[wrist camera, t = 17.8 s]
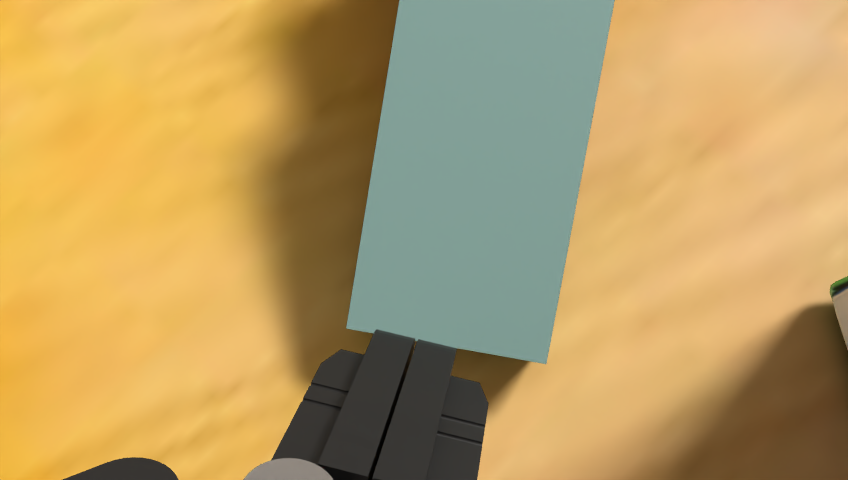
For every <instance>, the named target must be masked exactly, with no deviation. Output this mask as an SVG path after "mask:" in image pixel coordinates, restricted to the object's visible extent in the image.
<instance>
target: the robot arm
mask: <svg viewBox="0 0 848 480" xmlns="http://www.w3.org/2000/svg"><path fill="white" fill-rule="evenodd" d="M414 345H415V338H411V337H407V336H403V335H399V334H394V333H390V332H386V331H382V330H378V329H376V330H375V332H374V334H373V337H372V339H371V341H370V344H369V346H368V348H367V351H366V353H365V355H362V354H358V353H354V352H350V351H346V350H342V349H341V350H339V351H338V352H337V353H335V354H334V355H332V356H331V357H329V358H328V359H327V360H325V361H324V362H322V363H321V365H320V367H319V369H318V370H317V372H316V374H315V376H314V378H313V380H312V382H311V386H309V388H308V390H307V392H306V394H305V396H304V398H303V401H302V402H301V404H300V405H299V407H298V409H297V411H296V413H295V415H294V417H293V419H292V421H291V423H290V425H289V427H288V429H287V431H286V433H285V435H284V437H283V439H282V440H281V442H280V444H279V446H278V448H277V450H276V452H275V454H274V456H273V458H272V460H271V461H268V462H265V463H263V464H261V465H259V466H257V467H256V468H254V469H253V470H252V471H251V472H250V473H248V475H247V476H246V477H245V478H244V480H477V476H478V470H479V463H480V456H481V450H482V443H483V436H484V430H485V429H484V428H485V423H486V416H487V410H488V402H487V399H486V397H485V395H484V392H483V390H482V387H481V385H480V383H479V382H474V381H470V380H466V379H462V378H458V377H454V376H451V373H452V368H453V364H454V360H455V355H456V350H457V348H454V347H449V346H445V345H441V344H437V343H433V342H429V341H424V340H420V339H418V341H417V343H416V347H415V350H414ZM413 351H414V353H413ZM63 480H178V478H177V476H176V474H175V473H174V472H173V471H172V470H171V469H170V468H169V467H167V466H166V465H164V464H162V463H160V462H158V461H155V460H152V459H146V458H123V459H118V460H114V461H110V462H107V463H105V464H102V465H99V466H97V467H94V468H92V469H89V470H86V471H84V472H81V473H79V474H76V475H73V476H71V477H68V478H66V479H63Z"/></svg>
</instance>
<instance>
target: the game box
mask: <svg viewBox="0 0 848 480" xmlns="http://www.w3.org/2000/svg"><path fill="white" fill-rule="evenodd" d="M830 295H831V298H832V301H833V304H834V308H835V312H836V316H837V319H838V322H839V325H840V328H841V331H842V334H843V337H844V340H845V343H846V346H847V349H848V276H847V277H845V278H843V279H841V280H838V281H836V282H835V283H833V284H832V285H831V287H830Z"/></svg>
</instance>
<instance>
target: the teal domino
mask: <svg viewBox="0 0 848 480" xmlns="http://www.w3.org/2000/svg"><path fill="white" fill-rule="evenodd" d="M614 1H615V0H399V6H398V12H397V18H396V24H395V31H394V37H393V43H392V49H391V55H390V61H389V68H388V74H387V80H386V86H385V92H384V99H383V105H382V111H381V117H380V123H379V129H378V136H377V142H376V148H375V154H374V160H373V166H372V173H371V179H370V185H369V191H368V197H367V204H366V210H365V216H364V222H363V228H362V234H361V241H360V247H359V253H358V259H357V265H356V271H355V278H354V284H353V290H352V296H351V302H350V308H349V315H348V321H347V327H346V329H352V330H357V331H363V332H369V333H374V332H375V330H376V329H378V330H382V331H386V332H390V333H394V334H399V335H403V336H407V337H411V338H415V341H418V339H420V340H424V341H429V342H433V343H437V344H441V345H445V346H449V347H454V348H459V349H464V350H470V351H476V352H481V353H487V354H492V355H498V356H504V357H509V358H515V359H521V360H526V361H532V362H537V363H543V364H546V363H547V357H548V352H549V347H550V342H551V336H552V331H553V326H554V320H555V315H556V310H557V304H558V299H559V294H560V288H561V283H562V278H563V272H564V267H565V262H566V256H567V251H568V246H569V240H570V235H571V230H572V224H573V219H574V214H575V208H576V203H577V198H578V192H579V187H580V182H581V176H582V171H583V166H584V160H585V155H586V150H587V144H588V139H589V134H590V128H591V123H592V118H593V112H594V107H595V102H596V96H597V91H598V86H599V80H600V75H601V70H602V64H603V59H604V54H605V48H606V43H607V38H608V32H609V27H610V22H611V16H612V11H613V6H614Z"/></svg>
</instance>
